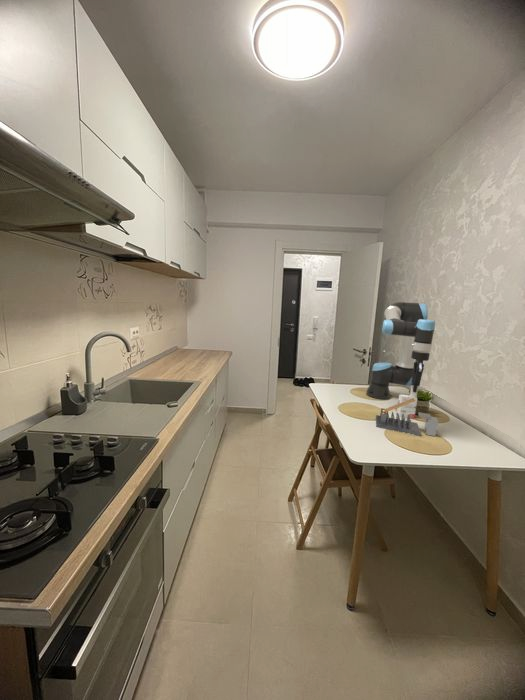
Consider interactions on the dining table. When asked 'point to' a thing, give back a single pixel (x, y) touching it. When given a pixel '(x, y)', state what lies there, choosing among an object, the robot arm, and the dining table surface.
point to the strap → (398, 405)
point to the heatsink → (397, 423)
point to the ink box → (407, 406)
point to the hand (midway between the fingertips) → (412, 397)
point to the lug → (429, 423)
